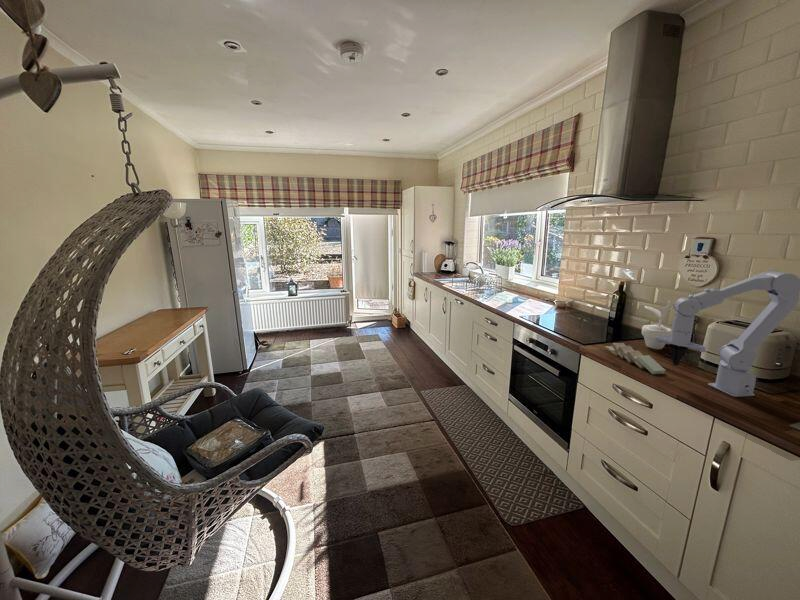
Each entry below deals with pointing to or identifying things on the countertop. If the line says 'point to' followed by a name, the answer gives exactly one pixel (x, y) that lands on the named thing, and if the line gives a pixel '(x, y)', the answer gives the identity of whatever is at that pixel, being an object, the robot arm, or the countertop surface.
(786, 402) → the countertop surface
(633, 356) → the domino
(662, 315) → the potted plant
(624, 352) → the domino
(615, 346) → the domino
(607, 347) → the domino
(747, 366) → the robot arm
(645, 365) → the domino
